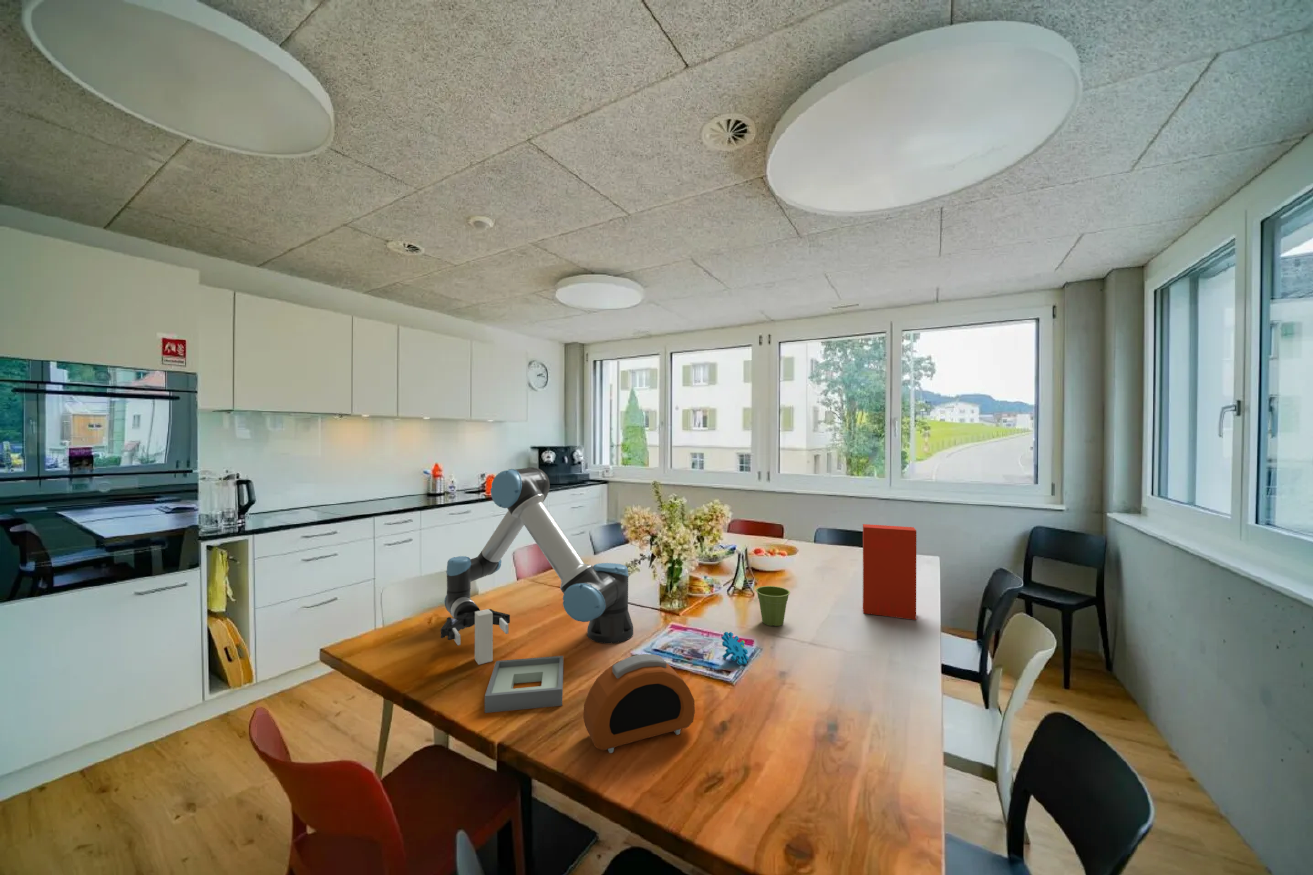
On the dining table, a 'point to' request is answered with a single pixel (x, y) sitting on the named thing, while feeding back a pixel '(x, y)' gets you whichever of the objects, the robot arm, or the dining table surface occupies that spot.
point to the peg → (483, 636)
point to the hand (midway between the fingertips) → (483, 634)
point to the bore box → (523, 671)
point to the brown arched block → (637, 702)
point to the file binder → (889, 571)
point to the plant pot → (772, 604)
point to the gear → (734, 648)
